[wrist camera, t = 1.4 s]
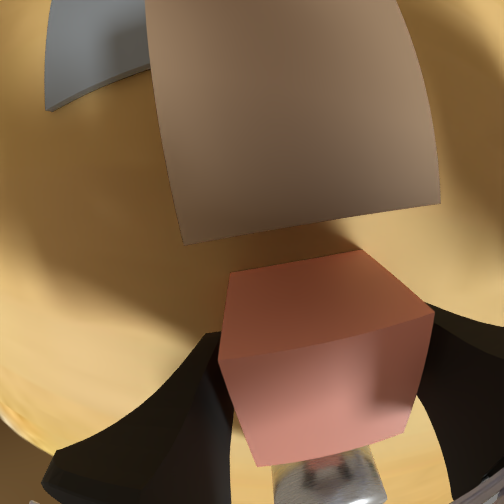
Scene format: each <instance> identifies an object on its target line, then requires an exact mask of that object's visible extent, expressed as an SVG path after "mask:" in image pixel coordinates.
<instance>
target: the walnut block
mask: <svg viewBox="0 0 504 504" xmlns="http://www.w3.org/2000/svg"><path fill="white" fill-rule="evenodd" d="M145 13H146V26H147V37H148V48H149V57H150V66H151V74H152V82H153V89H154V96H155V103H156V110H157V116H158V122H159V128H160V134H161V140H162V145H163V151H164V156H165V162H166V167H167V172H168V177H169V182H170V187H171V191H172V196H173V201H174V205H175V210H176V214H177V218H178V223H179V227H180V231H181V235H182V240H183V244H184V246H185V245H190V244H196V243H201V242H206V241H212V240H217V239H223V238H228V237H234V236H240V235H245V234H251V233H257V232H262V231H268V230H274V229H280V228H286V227H292V226H298V225H304V224H310V223H316V222H322V221H328V220H334V219H341V218H347V217H353V216H360V215H366V214H373V213H379V212H386V211H393V210H399V209H406V208H413V207H420V206H427V205H434V204H441V197H440V179H439V167H438V157H437V149H436V141H435V134H434V128H433V122H432V116H431V111H430V106H429V101H428V96H427V92H426V88H425V84H424V80H423V76H422V72H421V68H420V65H419V61H418V58H417V55H416V52H415V49H414V46H413V43H412V40H411V37H410V34H409V31H408V28H407V26H406V23H405V21H404V18H403V16H402V13H401V11H400V8H399V6H398V4H397V2H396V0H145Z"/></svg>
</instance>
